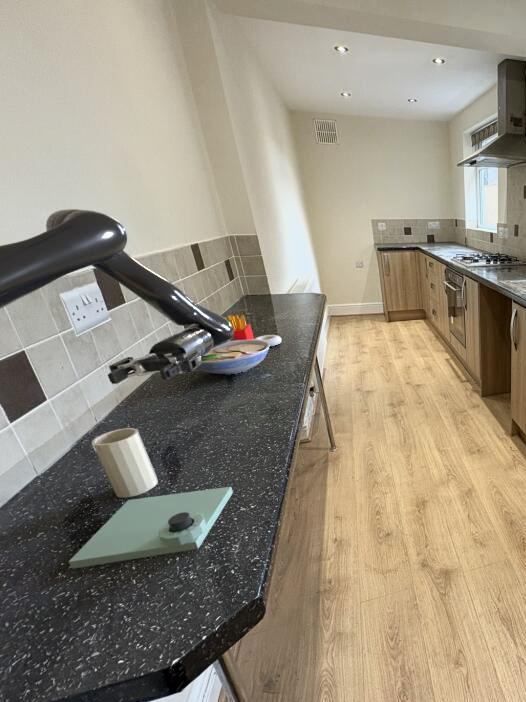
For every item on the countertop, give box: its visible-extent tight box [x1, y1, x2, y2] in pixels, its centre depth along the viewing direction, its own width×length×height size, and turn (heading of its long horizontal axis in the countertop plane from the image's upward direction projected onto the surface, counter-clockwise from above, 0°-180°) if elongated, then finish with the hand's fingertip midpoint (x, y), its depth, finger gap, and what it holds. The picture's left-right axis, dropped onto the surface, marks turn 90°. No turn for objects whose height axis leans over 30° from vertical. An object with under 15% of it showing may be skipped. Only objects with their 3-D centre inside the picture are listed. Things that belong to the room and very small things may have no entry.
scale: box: [68, 486, 234, 570], centre depth 66 cm, size 16×14×3 cm
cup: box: [91, 427, 159, 499], centre depth 74 cm, size 6×6×11 cm
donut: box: [254, 334, 283, 346], centre depth 157 cm, size 10×4×10 cm
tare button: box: [168, 512, 193, 533], centre depth 63 cm, size 3×3×2 cm
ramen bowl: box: [197, 336, 270, 376], centre depth 131 cm, size 25×23×8 cm
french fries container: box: [224, 314, 255, 341], centre depth 145 cm, size 7×9×14 cm
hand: (138, 377), depth 79 cm, fingers open, 8 cm apart
